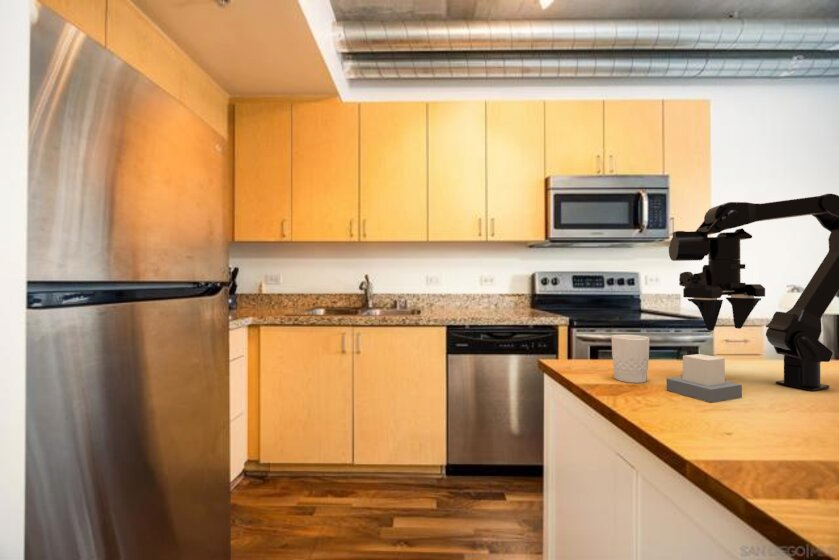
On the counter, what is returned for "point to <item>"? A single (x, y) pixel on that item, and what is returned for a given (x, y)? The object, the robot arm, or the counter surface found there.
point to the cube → (704, 369)
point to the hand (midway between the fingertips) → (724, 329)
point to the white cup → (630, 357)
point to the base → (705, 390)
